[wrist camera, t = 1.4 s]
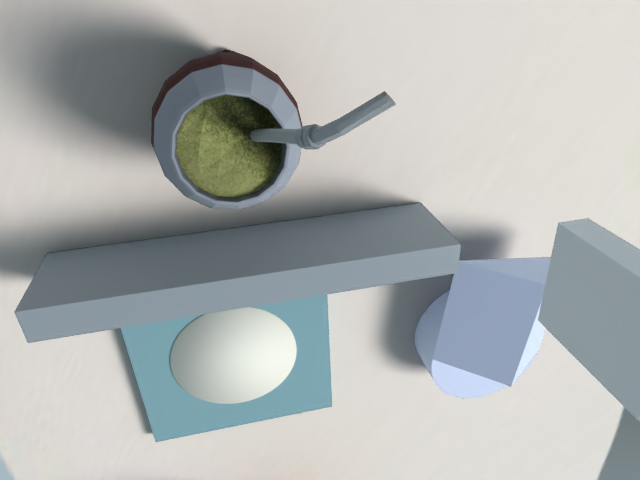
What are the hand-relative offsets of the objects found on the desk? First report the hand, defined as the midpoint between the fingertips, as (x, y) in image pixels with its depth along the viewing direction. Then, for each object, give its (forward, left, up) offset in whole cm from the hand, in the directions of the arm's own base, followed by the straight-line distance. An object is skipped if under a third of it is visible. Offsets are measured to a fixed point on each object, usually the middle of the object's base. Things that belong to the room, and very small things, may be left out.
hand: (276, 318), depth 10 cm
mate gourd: (0, 0, -20) cm, 20 cm away
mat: (+18, -2, -20) cm, 27 cm away
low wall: (+9, 0, -20) cm, 22 cm away
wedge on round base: (+18, +17, -20) cm, 32 cm away
